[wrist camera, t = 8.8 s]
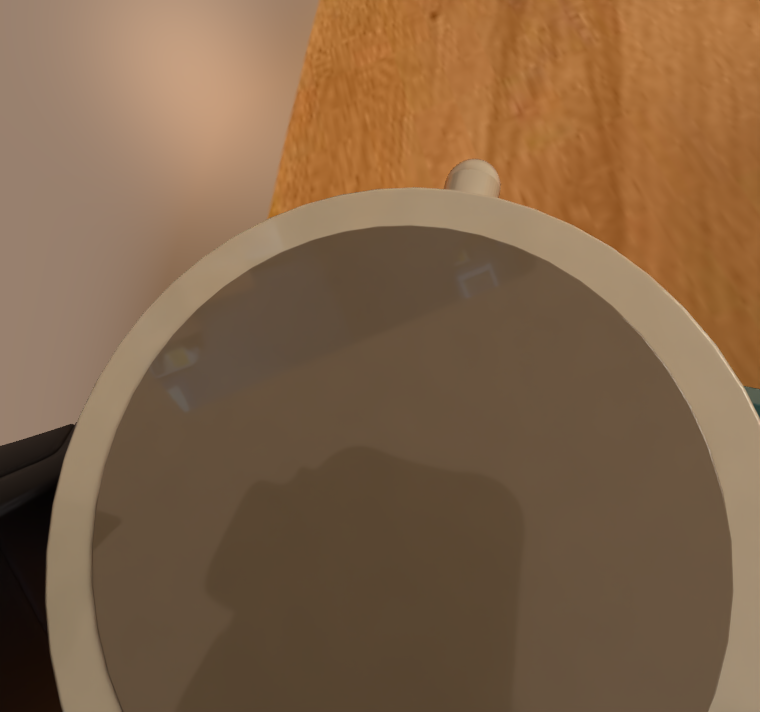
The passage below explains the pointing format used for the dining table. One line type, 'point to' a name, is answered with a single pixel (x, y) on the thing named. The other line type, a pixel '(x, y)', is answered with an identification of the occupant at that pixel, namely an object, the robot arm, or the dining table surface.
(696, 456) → the cream hollow round container
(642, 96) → the dining table surface
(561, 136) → the dining table surface
